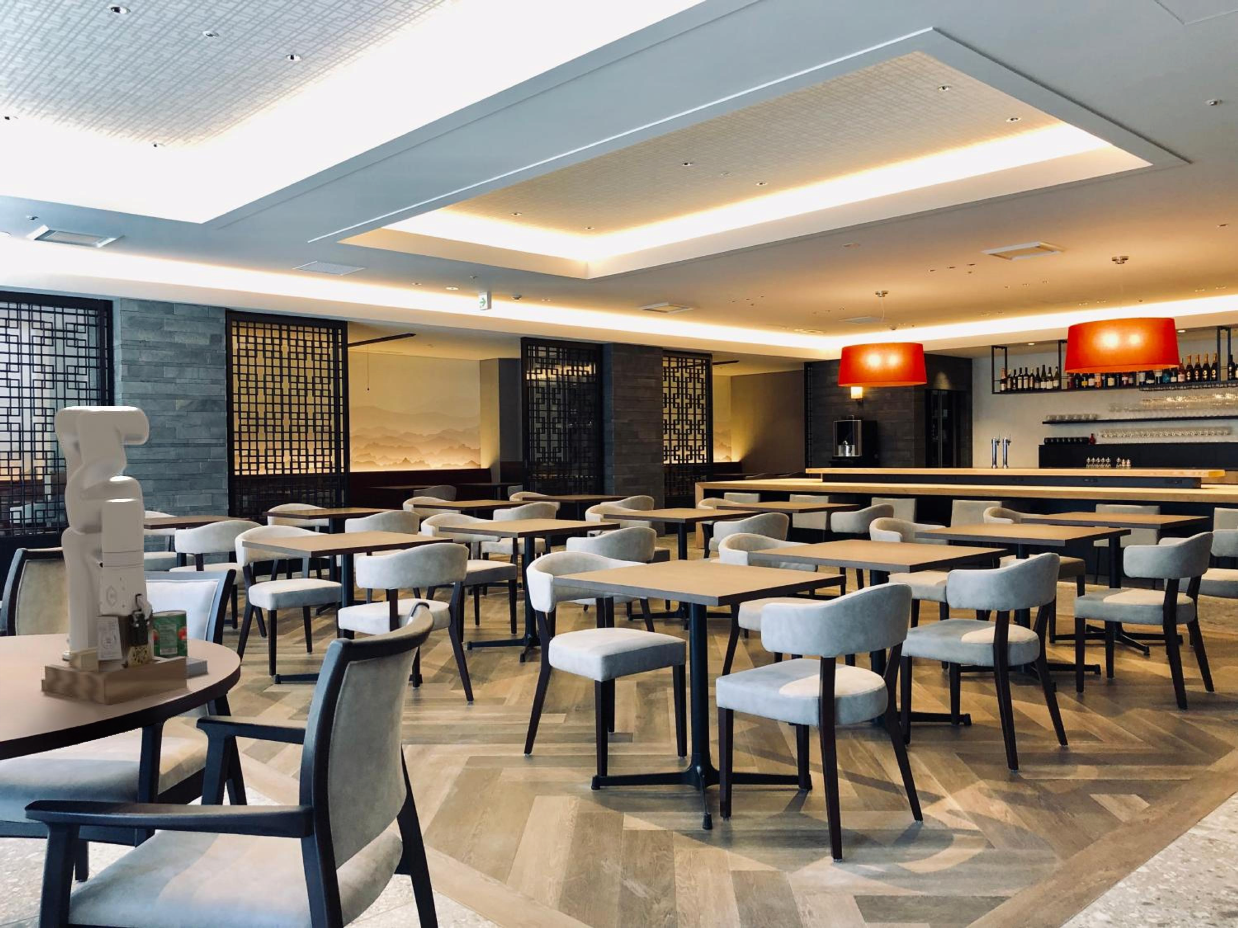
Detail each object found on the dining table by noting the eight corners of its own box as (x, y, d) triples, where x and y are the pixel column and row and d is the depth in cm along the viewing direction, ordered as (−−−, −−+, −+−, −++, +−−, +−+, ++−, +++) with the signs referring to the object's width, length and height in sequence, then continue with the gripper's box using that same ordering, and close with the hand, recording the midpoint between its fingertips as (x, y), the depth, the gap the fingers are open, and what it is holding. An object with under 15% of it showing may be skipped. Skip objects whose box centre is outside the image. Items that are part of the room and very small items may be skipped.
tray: (41, 688, 200) (40, 659, 200) (119, 671, 214) (118, 644, 214) (108, 705, 187) (107, 674, 186) (187, 685, 200) (186, 657, 200)
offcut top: (69, 668, 202) (68, 651, 202) (108, 660, 209) (107, 644, 209) (81, 671, 199) (80, 654, 199) (120, 663, 206) (119, 647, 206)
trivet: (146, 674, 211) (146, 662, 211) (180, 666, 218) (180, 655, 218) (173, 679, 206) (173, 667, 206) (207, 671, 213) (207, 660, 213)
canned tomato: (144, 660, 225) (143, 613, 225) (178, 654, 231) (177, 608, 231) (159, 665, 220) (158, 617, 220) (194, 658, 226) (192, 612, 226)
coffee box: (126, 697, 193) (123, 616, 192) (97, 695, 194) (95, 615, 193) (156, 685, 201) (154, 608, 201) (129, 684, 203) (127, 607, 202)
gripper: (82, 559, 199) (85, 643, 199) (129, 563, 189) (132, 651, 189) (117, 555, 205) (120, 636, 205) (165, 559, 195) (168, 644, 196)
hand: (126, 643), depth 197 cm, fingers open, 9 cm apart
